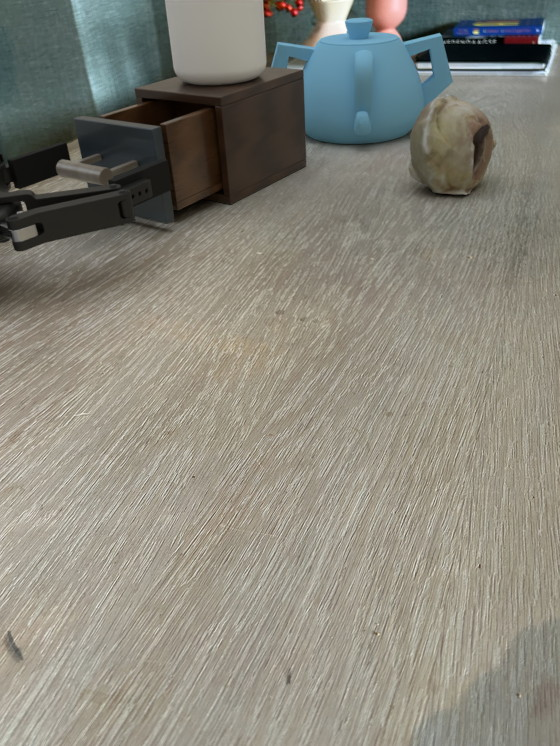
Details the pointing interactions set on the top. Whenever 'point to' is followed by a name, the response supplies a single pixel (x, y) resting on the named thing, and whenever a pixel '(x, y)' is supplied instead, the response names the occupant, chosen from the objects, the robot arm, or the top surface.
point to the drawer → (151, 151)
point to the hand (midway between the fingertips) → (114, 164)
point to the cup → (217, 40)
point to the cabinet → (248, 126)
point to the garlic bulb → (450, 146)
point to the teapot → (365, 83)
